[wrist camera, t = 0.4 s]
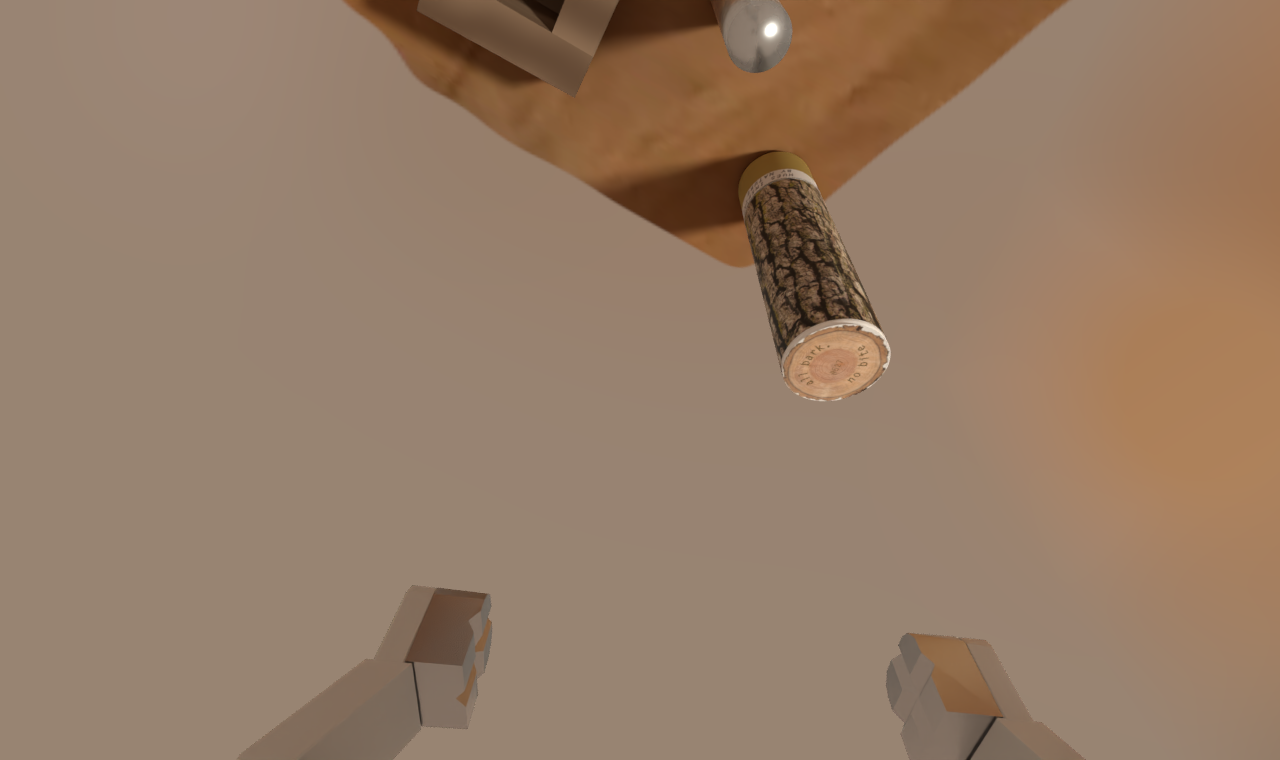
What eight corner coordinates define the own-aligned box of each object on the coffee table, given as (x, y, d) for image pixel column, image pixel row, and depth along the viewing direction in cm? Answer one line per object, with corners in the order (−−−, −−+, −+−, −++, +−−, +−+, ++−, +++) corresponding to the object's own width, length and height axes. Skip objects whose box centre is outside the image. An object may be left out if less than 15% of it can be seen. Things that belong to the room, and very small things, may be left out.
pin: (729, -52, 43) (752, -14, 35) (773, -21, 45) (805, 23, 36) (700, 3, 46) (714, 52, 37) (742, 32, 47) (765, 84, 39)
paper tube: (727, 209, 58) (767, 393, 40) (750, 141, 53) (807, 315, 35) (793, 221, 59) (860, 407, 41) (821, 156, 54) (911, 333, 36)
